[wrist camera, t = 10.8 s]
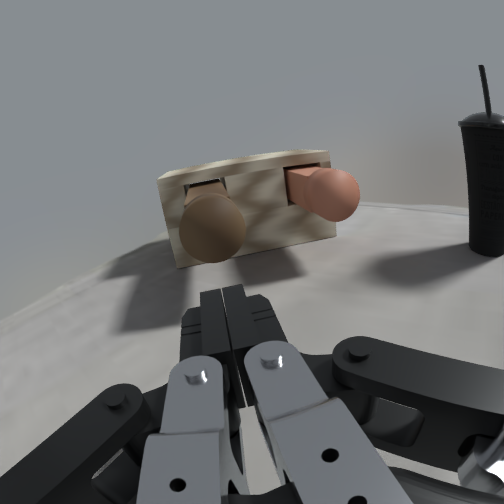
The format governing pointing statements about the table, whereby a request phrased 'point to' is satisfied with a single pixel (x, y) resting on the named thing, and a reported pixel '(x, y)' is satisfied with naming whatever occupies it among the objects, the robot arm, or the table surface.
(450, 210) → the table surface
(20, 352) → the table surface
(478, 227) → the drinking cup
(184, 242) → the walnut plug
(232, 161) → the socket block
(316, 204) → the terracotta plug
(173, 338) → the table surface
